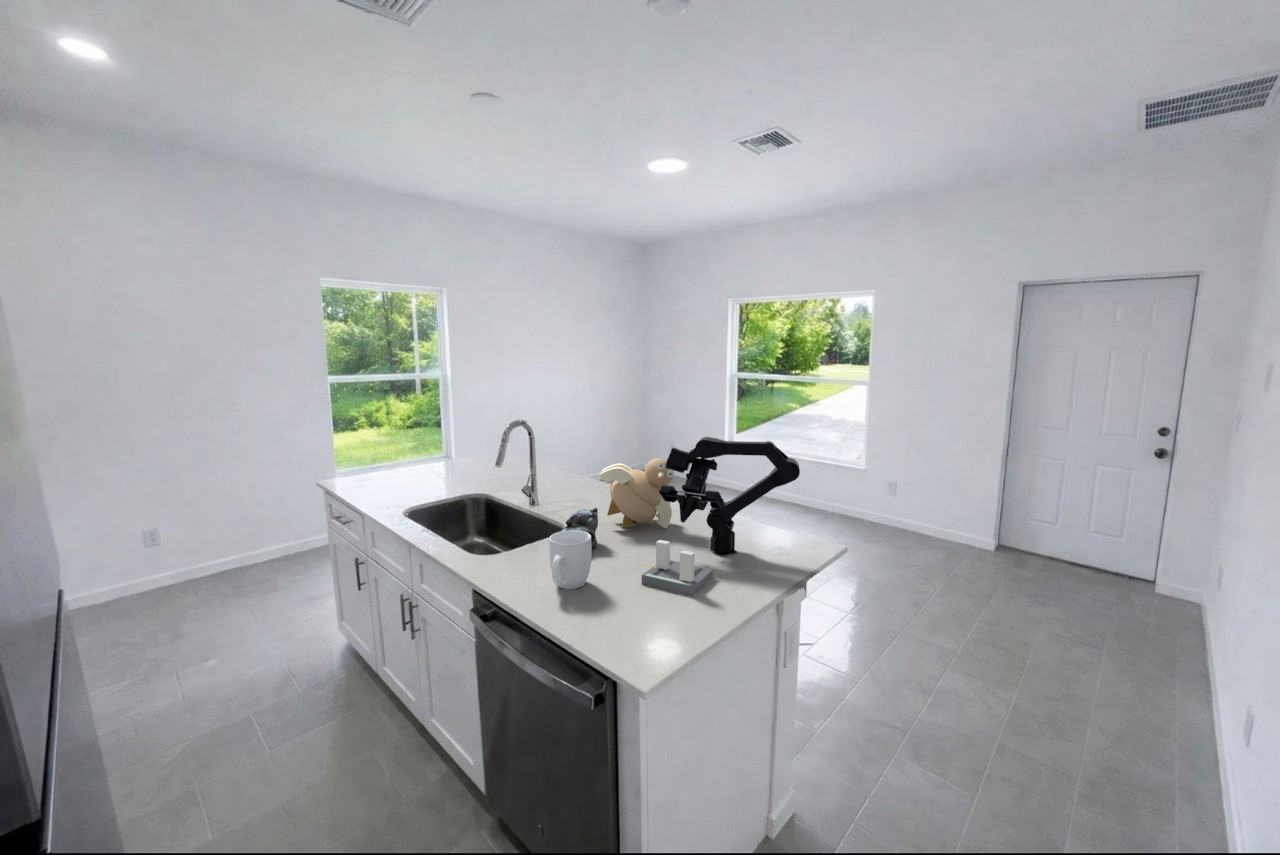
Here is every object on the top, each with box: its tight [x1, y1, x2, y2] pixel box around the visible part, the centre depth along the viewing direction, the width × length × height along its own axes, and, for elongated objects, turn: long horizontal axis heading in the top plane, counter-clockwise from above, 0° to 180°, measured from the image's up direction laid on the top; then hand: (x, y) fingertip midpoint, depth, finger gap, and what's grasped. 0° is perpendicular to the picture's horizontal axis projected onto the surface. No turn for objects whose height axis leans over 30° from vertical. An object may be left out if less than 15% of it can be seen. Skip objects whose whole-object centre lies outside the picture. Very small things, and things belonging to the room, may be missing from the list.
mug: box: [548, 530, 593, 590], centre depth 140 cm, size 15×11×13 cm
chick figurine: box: [598, 457, 675, 529], centre depth 191 cm, size 30×28×23 cm
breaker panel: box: [641, 559, 714, 597], centre depth 145 cm, size 13×15×3 cm
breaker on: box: [679, 550, 696, 582], centre depth 138 cm, size 2×3×7 cm, turn 60°
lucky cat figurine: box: [561, 507, 599, 549], centre depth 171 cm, size 15×12×14 cm
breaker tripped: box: [655, 539, 671, 570], centre depth 146 cm, size 2×3×7 cm, turn 60°
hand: (682, 521), depth 155 cm, fingers closed
